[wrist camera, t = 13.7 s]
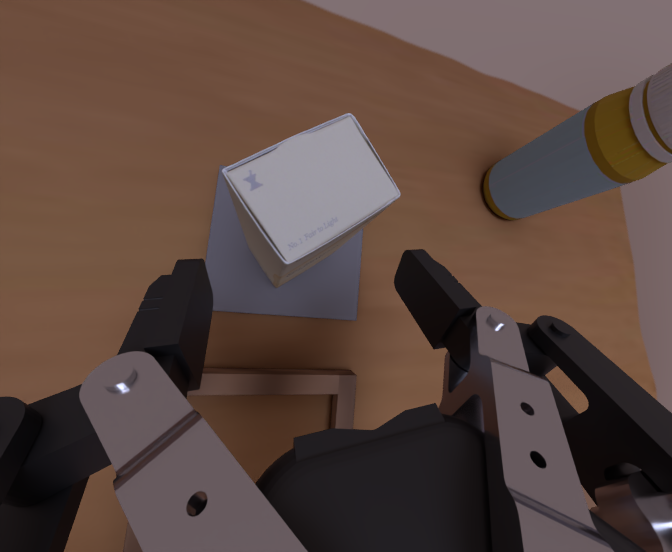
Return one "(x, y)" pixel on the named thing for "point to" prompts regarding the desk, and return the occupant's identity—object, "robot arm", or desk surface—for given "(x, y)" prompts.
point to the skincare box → (308, 196)
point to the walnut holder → (276, 384)
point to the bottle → (587, 152)
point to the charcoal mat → (256, 288)
